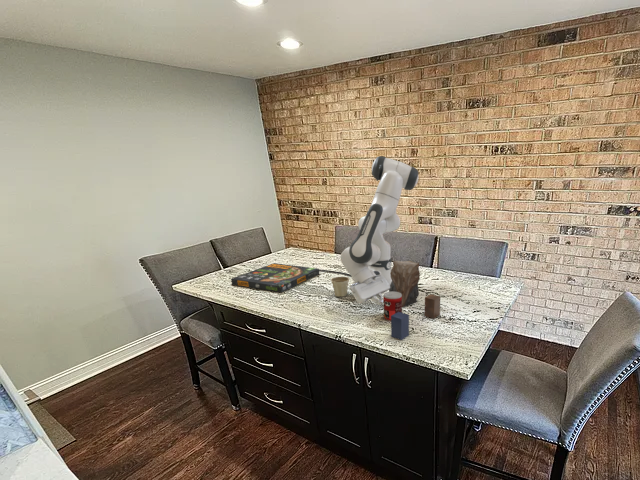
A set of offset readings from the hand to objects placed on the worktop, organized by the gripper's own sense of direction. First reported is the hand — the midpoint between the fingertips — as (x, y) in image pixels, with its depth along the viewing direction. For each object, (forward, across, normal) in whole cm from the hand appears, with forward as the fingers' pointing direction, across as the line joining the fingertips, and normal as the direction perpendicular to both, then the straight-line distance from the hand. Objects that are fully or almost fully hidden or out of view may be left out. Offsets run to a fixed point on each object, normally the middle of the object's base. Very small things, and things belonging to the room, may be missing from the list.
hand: (381, 303), depth 151 cm
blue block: (+17, -12, -10) cm, 23 cm away
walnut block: (+17, +12, -10) cm, 23 cm away
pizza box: (-55, +2, +62) cm, 83 cm away
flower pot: (-20, +6, +27) cm, 34 cm away
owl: (+3, +17, +4) cm, 18 cm away
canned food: (+8, 0, -1) cm, 8 cm away
